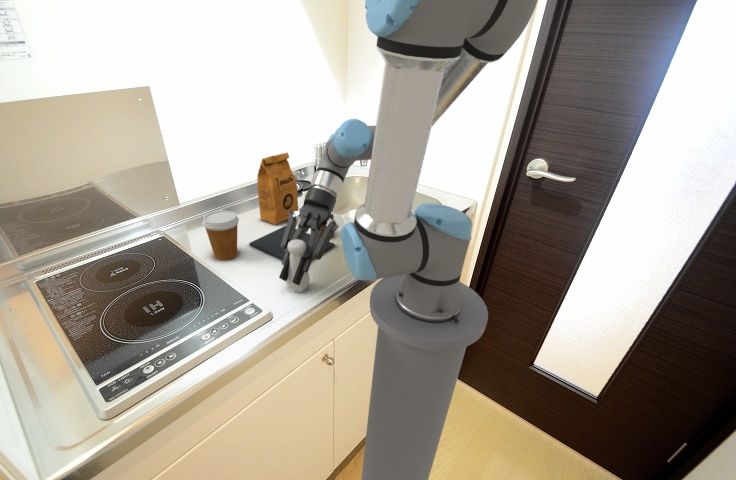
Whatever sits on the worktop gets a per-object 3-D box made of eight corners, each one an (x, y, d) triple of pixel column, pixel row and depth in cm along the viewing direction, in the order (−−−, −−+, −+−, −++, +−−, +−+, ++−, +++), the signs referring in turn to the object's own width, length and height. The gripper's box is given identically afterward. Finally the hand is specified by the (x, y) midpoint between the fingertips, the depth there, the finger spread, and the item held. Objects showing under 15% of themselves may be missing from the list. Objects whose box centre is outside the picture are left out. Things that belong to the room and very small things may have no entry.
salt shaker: (283, 291, 90) (279, 245, 83) (291, 279, 95) (289, 234, 88) (305, 296, 89) (304, 249, 82) (312, 283, 94) (312, 238, 87)
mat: (334, 246, 111) (334, 243, 110) (299, 268, 100) (299, 265, 99) (286, 227, 121) (286, 225, 120) (249, 245, 110) (249, 242, 109)
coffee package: (302, 217, 128) (301, 154, 117) (275, 228, 120) (270, 161, 109) (284, 209, 134) (281, 148, 122) (256, 219, 126) (250, 155, 115)
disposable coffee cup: (234, 265, 100) (229, 225, 94) (202, 261, 102) (194, 222, 95) (248, 248, 108) (243, 211, 102) (217, 245, 110) (211, 208, 103)
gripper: (356, 206, 91) (324, 294, 87) (301, 194, 97) (268, 276, 93) (348, 192, 84) (312, 287, 80) (289, 180, 90) (253, 268, 86)
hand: (289, 281), depth 87 cm, fingers closed on salt shaker, 3 cm apart
